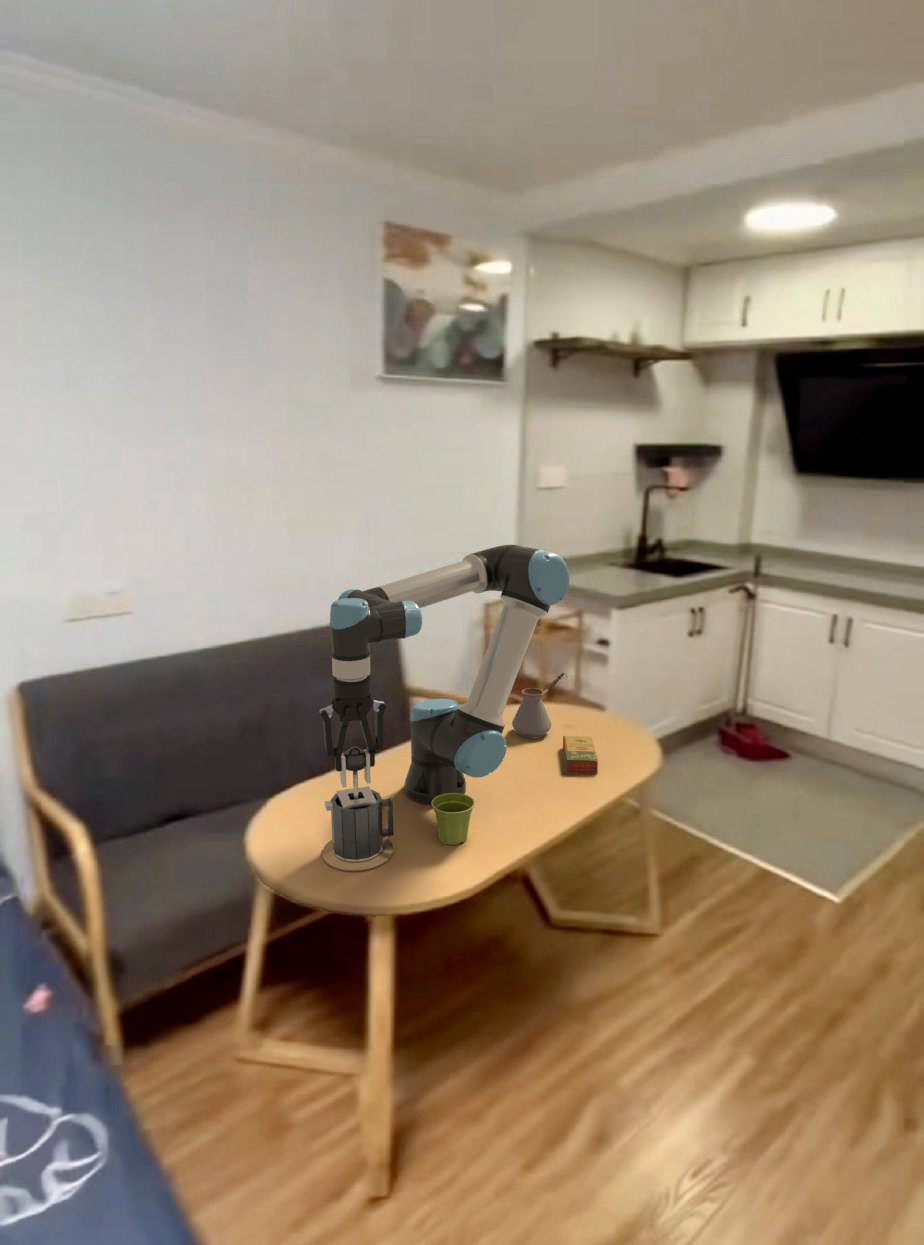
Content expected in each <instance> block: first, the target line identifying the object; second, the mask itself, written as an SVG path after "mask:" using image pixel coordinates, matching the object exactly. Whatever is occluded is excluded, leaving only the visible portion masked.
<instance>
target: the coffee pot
mask: <svg viewBox="0 0 924 1245" xmlns="http://www.w3.org/2000/svg"><path fill="white" fill-rule="evenodd" d="M564 676H566V677H568V675H567V674H566V673H565V672H561V673H560V675H557V678H555V679H554V680H552V682H551V683H550V684H549V685H548V686H547V687H546V689H545V690H543V689H540V688H537V687H528V688H523V689H522V690H521V691H520V692H521V694H522V696H523V698H522V700H521V702H520V705H519V707H518V709H517V710H516V713H515V715H514V717H513V719H512V723H511V725H512V728H513V729H514V731H515V732H516V733H518V735H519V736H521V737H524V738H528V739H537V738H538V739H539V738H541V737H543V736H545V734H547V733H548V732H549V731H550V729H551V728H552V721H551V719H550V716H549V714H548V712H547V709H546V707H545V704H544V702H543V699H542V698H543V697H544V696H545V695H546V694H547V693H548V692H549V691H550V690H551V689H552V688H553V687H555V685H557V683H558V682H559V680H561V679H562V678H563V679H565V677H564Z"/></svg>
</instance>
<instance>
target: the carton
mask: <svg viewBox="0 0 924 1245" xmlns="http://www.w3.org/2000/svg"><path fill="white" fill-rule="evenodd" d="M562 752H563V760H564V768H565V770H564V771H565V773H566V774H587V775H589V774H591V775H592V774H595V775H596V774H598V773H599V772H598V771H599V769H598V762H599V761H598V757H597V753H596V748H595V744H594V739H593V737H592V736H585V735H562Z"/></svg>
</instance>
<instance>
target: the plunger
mask: <svg viewBox="0 0 924 1245" xmlns="http://www.w3.org/2000/svg"><path fill="white" fill-rule="evenodd" d="M364 750H365V749H361V748H360V747H357V746H351V747H350V748H349V749H347V750H345V751H344V752H343V754H344V756H345V759H346V771H350V772H352V788H353V791H354V800H355V799H359V795H358V788H359V776H358V772H359V771H362V770H364V768H365V767H366V760H365V751H364ZM354 809H359V807H356V808H354Z"/></svg>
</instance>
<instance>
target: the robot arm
mask: <svg viewBox="0 0 924 1245" xmlns="http://www.w3.org/2000/svg"><path fill="white" fill-rule="evenodd" d="M570 580H571V579H570V571H569V570H568V565H567V563H566V561H565V559H563V558H562V557H561V556H560V555H559V554H556V553H554V552H551V551H548V550H545V549H539V548H534V547H533V548H532V547H526V546H523V545H522V546H521V545H518V544H504V545H497V546H494V547H490V548H489V547H488V548H487V549H486V548H485V549H482V550H480V551H475V552H473V553H469V554H466V556H464V557H463V558H462V560H461V561H457V562H454V563H452V564H448V565H445V566H442V567H438V568H435V569H431V570H428V571H425V572H423V573H419V574H415V575H412V576H409V577H406V578H403V579H400V580H396V581H393V582H389V583H386V584H383V585H379V586H376V587H372V588H369V589H366V590H360V589H353V588H351V589H346V590H345V591H344V592H342V593H341V594H340V595H339V597H338V598H337V600H334V601H332V603H331V605H330V612H329V627H330V643H331V662H332V663H331V664H332V665H331V666H332V668H331V669H332V670H331V671H332V676H333V678H332V690H333V692H332V693H333V698H332V701H331V703H330V705H328V706H326V707H323V706H321V707H319V709H318V710H319V713H320V716H321V717H322V725H323V726H322V728H323V740H324V751H325V753H326V755H327V756H328V757H334V768H335V771H336V772H337V773H338V772H339V773H340V774H339V775H340V776H339V779H340V784H341V786H342V788H347V787H348V786H347V770H346V759H345V756H344V752H343V751H344V745H345V740H346V735H347V729H348V727H349V722H354V721H357V722H359V724H360V728H361V731H362V735H363V737H364V738H363V739H364V741H365V745H366V749H363V750H364V751H365V760H366V767H365V768H364V769H363V774H364V776H363V778H364V780H365V782H366V784H367V785H368V784H371V783H372V782H371V781H372V780H371V778H372V777H371V768H372V767H375V764H376V758H375V757H376V756H375V755H376V754H377V752H376V751H379V750H382V749H384V714H385V711H386V709H387V705H386V703H385V702H384V701H383V700H382V699H381V700H375V699H374V698H373V697H372V683H371V682H372V680H371V679H372V678H371V676H370V674H371V654H370V653H371V649H370V648H371V645H373V644H374V645H375V644H378V643H379V644H380V643H384V642H391V641H395V640H401V639H403V640H404V639H407V638H409V637H413V636H417V635H418V634H419V633H420V632H421V630H422V627H423V614H422V610H421V608H426V607H428V606H431V605H434V604H437V603H441V602H443V601H447V600H449V599H453V598H455V597H459V596H462V595H466V594H468V593H470V592H471V593H474V594H481V593H485V592H489V591H490V592H491V591H492V592H493V591H494V592H500V593H501V594H500V596H499V597H500V600H501V602H502V604H503V607H502V610H501V612H500V614H499V617H498V620H497V622H496V625H495V627H494V631H493V633H492V635H491V638H490V641H489V642H488V646H487V649H486V651H485V653H484V656H483V658H482V662H481V664H480V667H479V669H478V672H477V674H476V677H475V680H474V682H473V685H472V688H471V690H470V693H469V695H468V698H467V701H466V702H465V703H463V704H461V705H459V703H458V702H457V701H456V700H454V699H450V698H449V699H448V698H434V699H427V700H422V701H419V702H417V703H415V704H414V705H413V706H412V707H411V709H410V717H409V718H410V719H409V722H410V753H411V758H410V760H411V763H410V765H409V768H408V770H407V771H408V772H407V774H406V777H405V780H404V792H405V793H404V794H405V795H406V796H407V797H408V798H409V799H411V801H415V802H417V803H421V804H424V805H425V804H428V805H432V804H431V802H432V800H433V799H434V798H435V797H437V796H439V795H442V794H446V793H460V794H465V795H466V791H467V789H466V788H467V787H466V786H467V782H466V778H465V776H464V775H466V776H469V777H471V778H477V779H478V778H485V777H486V776H489V775H490V774H491V773H493V772H495V771H496V770H497V769H498V768H500V766H501V764H502V762H503V761H504V759H505V756H506V754H507V750H508V749H507V748H508V747H507V746H508V745H507V744H506V743H507V741H506V739H505V737H504V735H503V732H504V729H505V727H506V724H505V722H504V720H503V713H504V710H505V708H506V705H507V703H508V700H509V697H510V695H511V692H512V689H513V687H514V684H515V683H516V678H517V676H518V675H519V674H518V673H519V671H520V669H521V666H522V664H523V661H524V658H525V655H526V653H527V650H528V647H529V645H530V642H531V640H532V637H533V634H534V631H535V630H536V627H537V624H538V621H539V619H540V618H543V617H545V616H547V615H549V614H548V613H549V611H550V609H551V606H554V605H556V604H558V603H560V601H563V599H564V598H565V597H566V596H567V593H568V591H569V588H570ZM371 709H373V711H374V741H373V738H372V734H371V730H370V728H369V722H368V719H367V715H368V713H369V712H370V710H371ZM333 712H335V713H336V715H338V716H339V719H338V727H337V731H336V732H337V733H336V737H335V743H334V747H333V738H332V737H333V735H332V721H331V717H333Z"/></svg>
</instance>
